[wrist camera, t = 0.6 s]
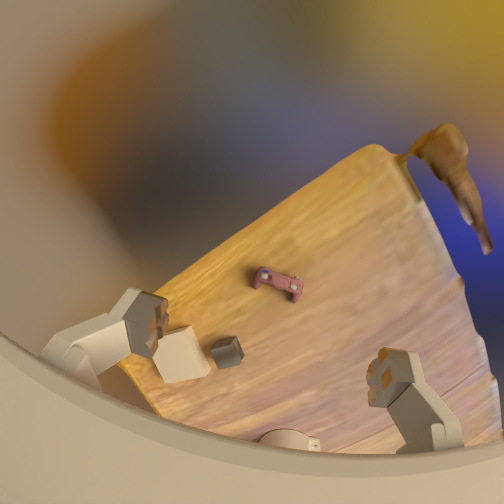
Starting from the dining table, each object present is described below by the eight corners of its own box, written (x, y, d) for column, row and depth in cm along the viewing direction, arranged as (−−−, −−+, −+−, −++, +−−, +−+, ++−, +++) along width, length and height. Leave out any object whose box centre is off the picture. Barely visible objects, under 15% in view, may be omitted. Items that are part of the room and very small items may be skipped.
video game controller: (303, 285, 61) (308, 277, 54) (296, 305, 59) (300, 299, 53) (259, 269, 62) (259, 259, 56) (251, 289, 61) (250, 281, 54)
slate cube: (244, 354, 63) (239, 364, 58) (225, 359, 64) (218, 369, 60) (236, 335, 63) (230, 344, 58) (216, 341, 64) (209, 350, 59)
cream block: (211, 368, 66) (206, 376, 62) (172, 376, 68) (165, 383, 64) (191, 324, 65) (184, 330, 62) (152, 335, 68) (144, 341, 64)
